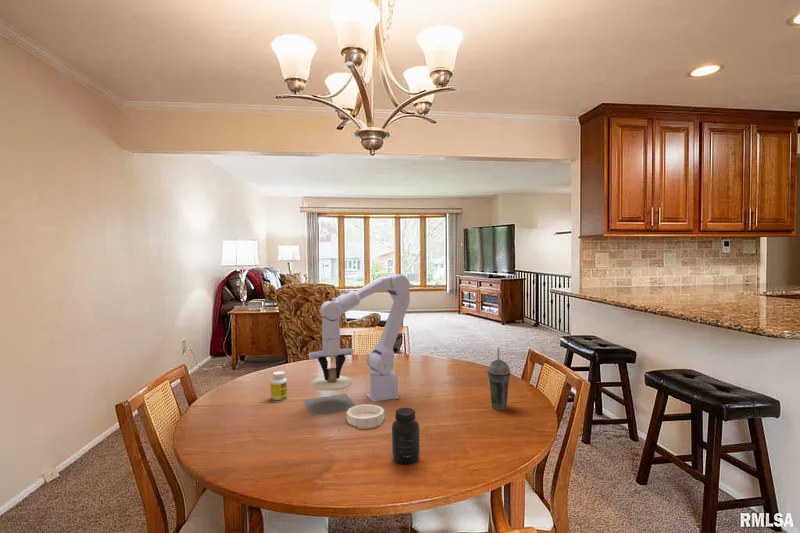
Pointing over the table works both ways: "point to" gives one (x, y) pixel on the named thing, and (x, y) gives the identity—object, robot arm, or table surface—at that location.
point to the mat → (329, 404)
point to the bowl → (365, 416)
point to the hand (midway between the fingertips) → (331, 378)
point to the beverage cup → (499, 383)
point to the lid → (331, 381)
